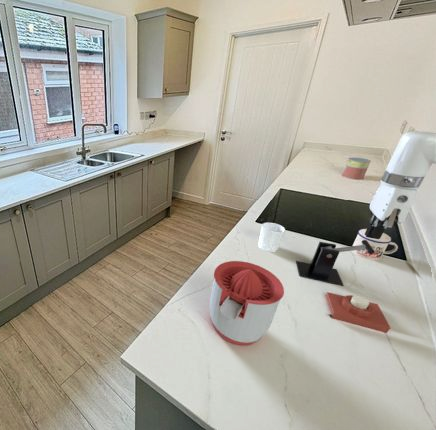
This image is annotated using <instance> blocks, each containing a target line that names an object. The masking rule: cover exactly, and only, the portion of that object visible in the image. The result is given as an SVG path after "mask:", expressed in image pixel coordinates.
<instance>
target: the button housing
mask: <svg viewBox="0 0 436 430" xmlns="http://www.w3.org/2000/svg"><path fill="white" fill-rule="evenodd" d="M353 296H354V295H351V294H350V295H349V294H348V295H342V294H338V293H337V294H336V293H333V292H328V291H327V292H326V294H325V298H326V300H327V304H328V306H329V309H330V312H331V313H330V318H331V319H332V320H337V321H340V322H344V323H347V324H351V325H354V326H358V327H363V328H367V329H370V330H372V331H373V330H374V331H378V332H381V333H384V334H387V333H388V332H389V330H390V329H391V326H390V324H389V322H388V320H387V318H386V317H385V315H384V313H383V311H382V310H381V308H380V306H379V304H378V303H375V302H371V301H368V302H369V305H368V307H367V309H360V308H357V307H355V306H353V305H352V304H351V303H350V301H351V299H352V297H353Z"/></svg>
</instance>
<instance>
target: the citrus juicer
mask: <svg viewBox="0 0 436 430" xmlns="http://www.w3.org/2000/svg"><path fill="white" fill-rule="evenodd" d="M284 288H285V287H284V286H283V283H282V282H281V280H280V279H279V278H278V276H276V275H275V274H274V273H273V272H271V271H269V270H268V269H266V268H264V267H263V266H260V265H258V264H255V263H251V262H248V261H242V260H230V261H224V262H222V263H220V264H219V265H217V266H216V268H215V269H214V271H213V282H212V286H211V292H210V297H209V314H210V320H211V323H212V326H213V328H214V330H215V333H217V334H218V335H219V336H220V337H221V338H222V339H223V340H225V341H227V342H228V343H230V344H232V345H235V346H241V347H243V346H244V347H245V346H250V345H253V344H255V343H256V342H258V341H260V340H261V338H262V337H263V336H264V335H265V334H266V333H267V332H268V330H269V329H270V328H271V325H272V323H273V321H274V318H275V315H276V312H277V309H278V307H279V303H280V301H281V300H282V299H283V297H284V294H285V289H284Z"/></svg>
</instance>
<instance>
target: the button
mask: <svg viewBox="0 0 436 430" xmlns="http://www.w3.org/2000/svg"><path fill="white" fill-rule="evenodd" d="M369 302H370V301H369V300H368V299H367V298H364V297H363V296H360V295H353V297H352V299H351V301H350V303H351V304H352V305H353V306H355V307H357V308H360V309H367V307H368V305H369Z"/></svg>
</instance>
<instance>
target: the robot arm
mask: <svg viewBox="0 0 436 430" xmlns="http://www.w3.org/2000/svg"><path fill="white" fill-rule="evenodd" d="M433 164H435V165H436V132H433V131H432V132H431V131H419V130H418V131H414V130H413V131H408V132H405V133H404V134H402V135H401V137H400V139H399V141H398V143H397V145H396V148H395V149H394V152H393V154H392V155H391V157H390V160H389V161H388V164H387V166H386V168H385V170H384V173H383V175H382V176H381V179H380V185H379V186H378V188H377V190H376V192H375V193H374V195H373V197H372V199H371V202H370V203H369V210H370V211H371V213H372V215H371V218H370V221H369V224H368V225H367V228H366V229H367V230H366V232H365V235H366V237H368V238H374V239H380V238H381V236H382V234H383V233H385V230H387V228H390V229H392V227H393V226H394V223H395V222H396V223H397V224H403V223H404V222H405V220H406V218H407V216H408V214H409V213H410V212H409V211H410V210H411V208H412V206H413V203H414V200H415V198H416V195H417V190H418V189H419V188H420V187H421V184H422V183H423V181H424V179H425V178H426V176H427V174H428V173H429V170H430V168H431V167H432V165H433Z"/></svg>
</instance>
